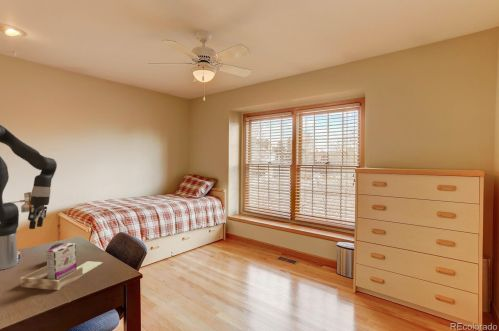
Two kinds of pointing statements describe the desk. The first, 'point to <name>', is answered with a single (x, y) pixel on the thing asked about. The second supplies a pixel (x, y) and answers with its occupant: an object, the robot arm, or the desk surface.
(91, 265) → the sage mat
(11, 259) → the robot arm
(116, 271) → the desk surface
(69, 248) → the candy bar box
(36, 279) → the lane rack
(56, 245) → the decorative ball
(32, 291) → the desk surface
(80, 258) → the desk surface
